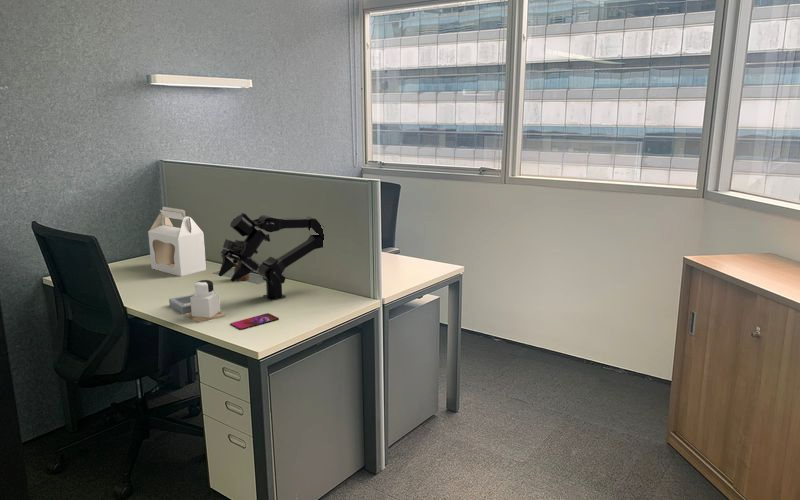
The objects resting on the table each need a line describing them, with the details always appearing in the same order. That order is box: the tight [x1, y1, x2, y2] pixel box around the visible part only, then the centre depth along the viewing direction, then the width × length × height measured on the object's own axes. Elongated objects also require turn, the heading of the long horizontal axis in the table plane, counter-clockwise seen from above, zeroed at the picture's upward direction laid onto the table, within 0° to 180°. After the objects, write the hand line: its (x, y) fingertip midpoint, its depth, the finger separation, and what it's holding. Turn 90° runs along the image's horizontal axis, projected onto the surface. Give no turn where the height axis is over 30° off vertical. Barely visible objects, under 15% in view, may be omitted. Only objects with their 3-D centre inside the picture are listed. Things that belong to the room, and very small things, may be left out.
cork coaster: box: [185, 311, 226, 323], centre depth 208 cm, size 10×10×1 cm
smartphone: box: [229, 312, 280, 331], centre depth 202 cm, size 8×1×15 cm
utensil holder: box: [233, 262, 250, 282], centre depth 252 cm, size 6×6×12 cm
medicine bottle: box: [190, 279, 221, 318], centre depth 207 cm, size 7×7×12 cm
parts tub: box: [168, 293, 196, 315], centre depth 218 cm, size 13×13×2 cm
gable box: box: [147, 206, 207, 277], centre depth 265 cm, size 22×13×28 cm, turn 55°
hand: (225, 278), depth 214 cm, fingers open, 9 cm apart
